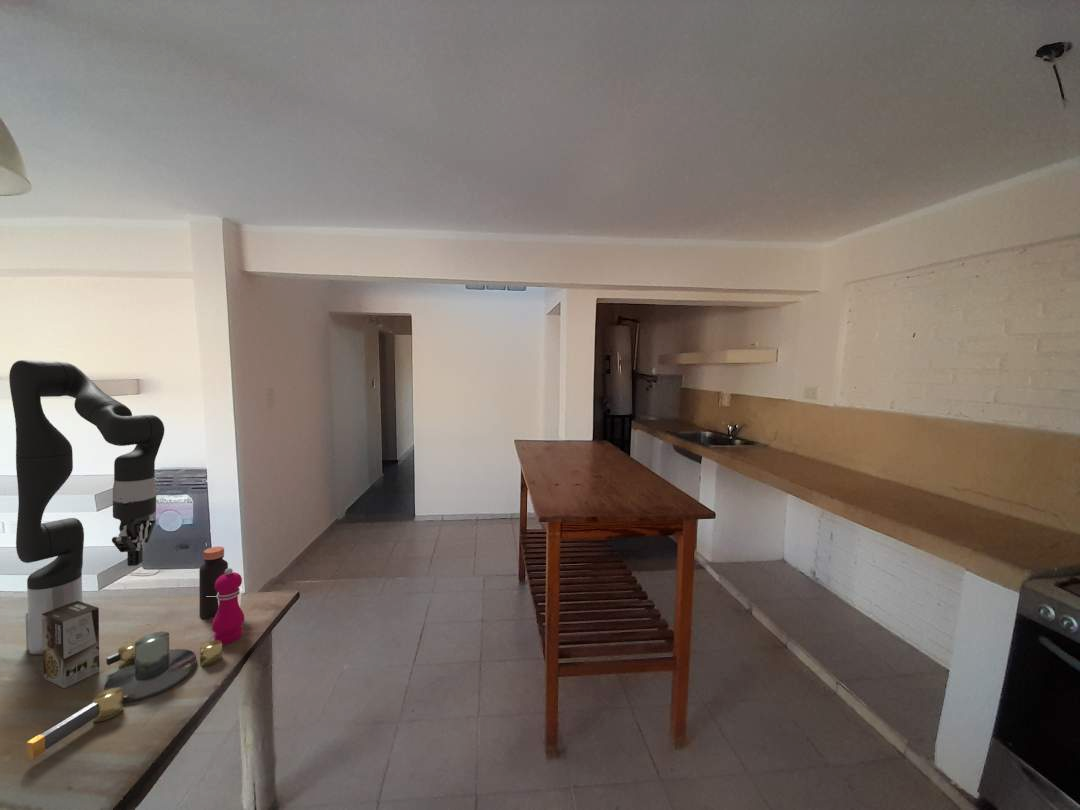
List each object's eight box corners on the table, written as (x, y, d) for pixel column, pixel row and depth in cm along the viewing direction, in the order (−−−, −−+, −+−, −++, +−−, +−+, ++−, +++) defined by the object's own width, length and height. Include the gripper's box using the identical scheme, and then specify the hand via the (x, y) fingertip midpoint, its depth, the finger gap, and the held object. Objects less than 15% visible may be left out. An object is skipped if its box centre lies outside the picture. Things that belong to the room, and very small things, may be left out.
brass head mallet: (39, 766, 75) (39, 745, 74) (21, 761, 75) (21, 740, 75) (128, 706, 88) (128, 688, 88) (112, 703, 89) (112, 685, 89)
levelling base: (64, 696, 91) (63, 656, 90) (151, 643, 109) (151, 609, 109) (159, 708, 89) (158, 667, 88) (230, 652, 107) (230, 617, 107)
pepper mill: (226, 648, 109) (226, 576, 108) (204, 643, 110) (204, 572, 109) (250, 632, 116) (251, 564, 115) (230, 627, 117) (230, 561, 116)
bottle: (195, 621, 120) (195, 555, 118) (204, 609, 126) (204, 546, 125) (223, 616, 122) (224, 552, 121) (230, 605, 129) (230, 544, 127)
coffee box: (101, 671, 99) (100, 607, 98) (63, 689, 93) (62, 622, 92) (80, 661, 102) (78, 599, 101) (41, 678, 95) (40, 612, 95)
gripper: (132, 489, 104) (132, 554, 105) (95, 505, 91) (96, 579, 93) (168, 488, 106) (168, 551, 107) (137, 504, 94) (137, 575, 95)
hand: (134, 564), depth 100 cm, fingers closed
